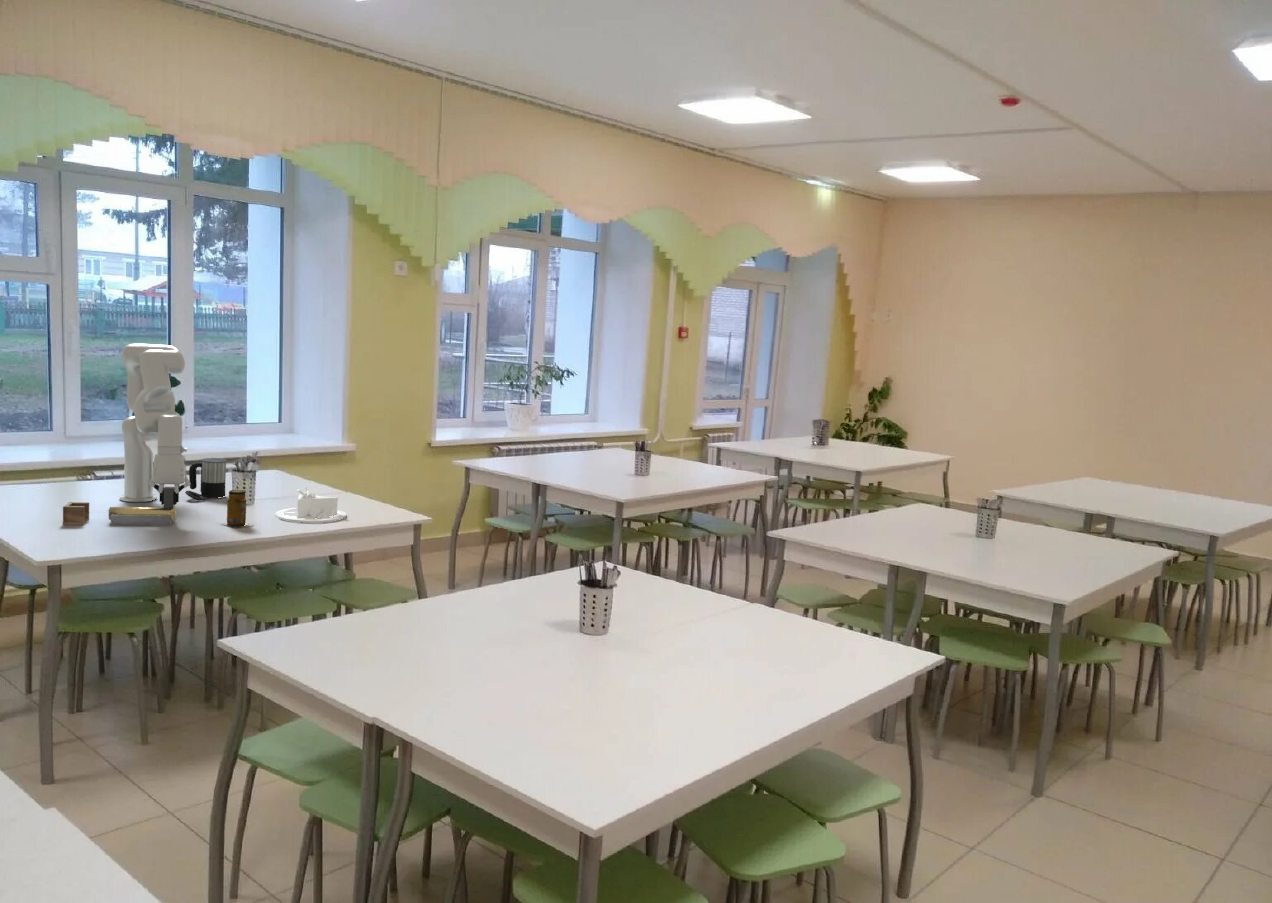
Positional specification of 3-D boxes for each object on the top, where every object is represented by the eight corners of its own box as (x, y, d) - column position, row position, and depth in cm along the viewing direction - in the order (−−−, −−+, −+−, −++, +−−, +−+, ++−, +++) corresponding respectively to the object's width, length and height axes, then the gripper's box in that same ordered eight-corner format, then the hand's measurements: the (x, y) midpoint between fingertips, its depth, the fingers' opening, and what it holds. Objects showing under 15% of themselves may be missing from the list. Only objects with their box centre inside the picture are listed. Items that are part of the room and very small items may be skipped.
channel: (115, 520, 326) (115, 510, 326) (173, 520, 332) (173, 511, 332) (110, 525, 319) (110, 515, 318) (170, 525, 325) (170, 515, 324)
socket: (69, 519, 322) (69, 502, 321) (89, 519, 324) (89, 502, 323) (63, 524, 314) (63, 506, 314) (83, 524, 316) (83, 507, 316)
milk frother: (227, 494, 382) (227, 458, 380) (224, 502, 368) (225, 464, 366) (187, 494, 377) (188, 457, 375) (184, 502, 363) (184, 463, 361)
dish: (272, 523, 339) (273, 492, 338) (278, 509, 363) (278, 480, 362) (345, 524, 346) (346, 494, 345) (345, 510, 370) (346, 482, 369)
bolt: (111, 518, 324) (111, 485, 323) (176, 518, 331) (176, 486, 329) (108, 521, 320) (108, 487, 319) (174, 521, 326) (174, 488, 325)
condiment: (239, 521, 337) (239, 488, 336) (254, 526, 333) (255, 492, 331) (220, 524, 331) (221, 490, 330) (235, 528, 327) (236, 494, 325)
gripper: (197, 450, 331) (196, 502, 333) (144, 448, 326) (144, 501, 328) (194, 453, 324) (193, 506, 326) (140, 451, 319) (140, 506, 321)
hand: (169, 503), depth 327 cm, fingers closed on bolt, 3 cm apart
